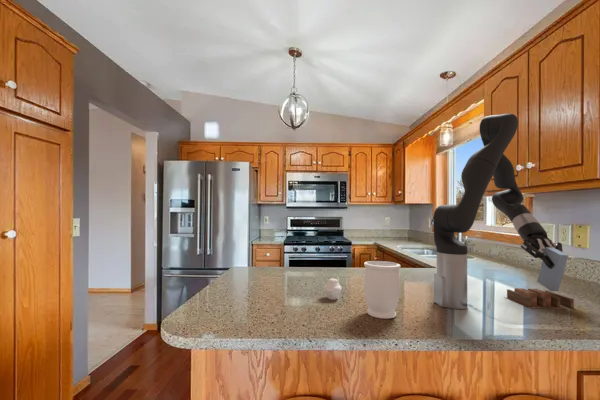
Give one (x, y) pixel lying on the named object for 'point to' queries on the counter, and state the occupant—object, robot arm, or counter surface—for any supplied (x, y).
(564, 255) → the tall board
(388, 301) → the jar
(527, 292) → the offcut
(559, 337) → the counter surface
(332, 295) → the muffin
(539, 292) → the offcut
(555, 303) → the rack
